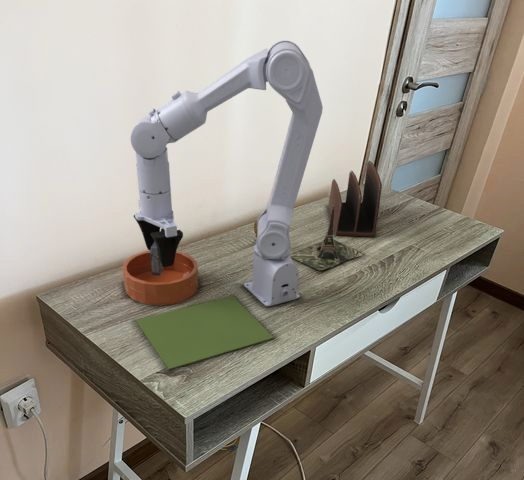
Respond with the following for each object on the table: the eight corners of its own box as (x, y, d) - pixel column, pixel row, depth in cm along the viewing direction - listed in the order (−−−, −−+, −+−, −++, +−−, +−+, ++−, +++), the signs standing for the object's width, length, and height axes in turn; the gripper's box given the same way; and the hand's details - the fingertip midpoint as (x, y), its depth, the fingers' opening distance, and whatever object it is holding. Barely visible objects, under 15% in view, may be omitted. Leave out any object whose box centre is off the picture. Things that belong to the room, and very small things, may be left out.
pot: (209, 294, 106) (209, 274, 103) (139, 312, 100) (137, 290, 97) (181, 263, 116) (180, 244, 113) (115, 277, 110) (113, 257, 107)
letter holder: (363, 207, 148) (372, 156, 139) (374, 237, 132) (385, 181, 123) (327, 205, 147) (334, 154, 139) (334, 235, 132) (342, 179, 123)
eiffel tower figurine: (330, 239, 130) (338, 186, 122) (363, 254, 124) (373, 199, 116) (287, 257, 121) (292, 200, 113) (320, 273, 115) (327, 215, 107)
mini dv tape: (162, 256, 108) (160, 228, 105) (169, 256, 108) (167, 229, 105) (152, 275, 102) (149, 246, 98) (159, 276, 102) (157, 247, 98)
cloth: (273, 338, 95) (273, 337, 95) (169, 370, 86) (169, 368, 86) (232, 297, 106) (232, 295, 106) (135, 321, 97) (135, 320, 97)
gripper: (120, 179, 99) (128, 245, 107) (147, 206, 89) (154, 277, 97) (156, 174, 102) (161, 239, 110) (186, 199, 92) (189, 269, 100)
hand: (160, 256), depth 104 cm, fingers closed on mini dv tape, 7 cm apart
